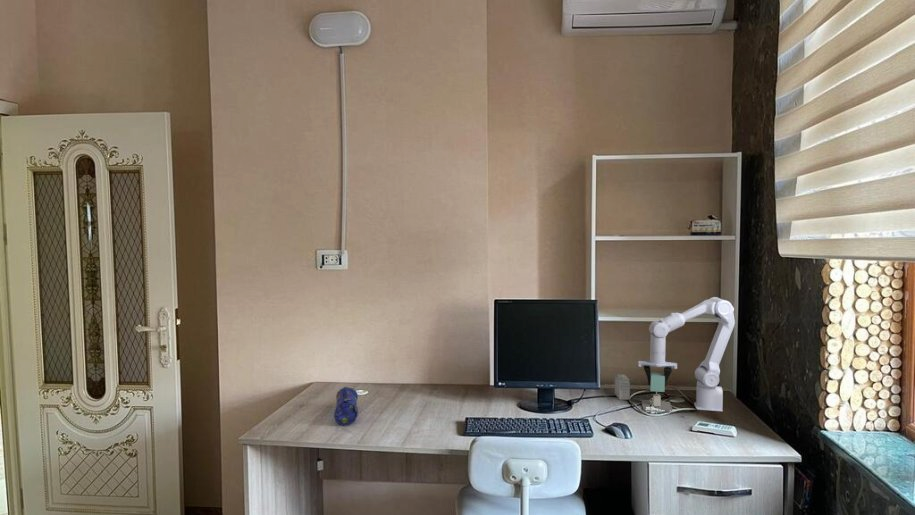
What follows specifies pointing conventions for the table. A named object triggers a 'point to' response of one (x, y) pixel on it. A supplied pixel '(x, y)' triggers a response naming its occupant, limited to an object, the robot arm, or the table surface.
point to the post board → (663, 405)
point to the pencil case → (346, 406)
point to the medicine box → (622, 387)
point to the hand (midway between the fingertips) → (657, 385)
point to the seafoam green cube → (657, 382)
